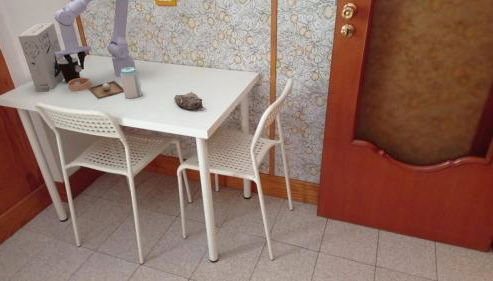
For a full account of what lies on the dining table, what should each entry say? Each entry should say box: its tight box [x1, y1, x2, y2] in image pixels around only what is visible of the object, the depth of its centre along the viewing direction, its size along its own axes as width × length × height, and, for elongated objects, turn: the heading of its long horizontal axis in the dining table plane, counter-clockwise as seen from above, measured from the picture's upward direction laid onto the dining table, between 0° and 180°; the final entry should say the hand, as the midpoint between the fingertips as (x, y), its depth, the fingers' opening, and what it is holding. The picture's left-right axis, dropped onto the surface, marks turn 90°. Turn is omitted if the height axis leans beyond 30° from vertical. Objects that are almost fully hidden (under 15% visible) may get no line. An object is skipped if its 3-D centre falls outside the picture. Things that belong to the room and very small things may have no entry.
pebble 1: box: [74, 64, 82, 73], centre depth 168 cm, size 3×3×3 cm
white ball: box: [102, 82, 110, 91], centre depth 166 cm, size 3×3×3 cm
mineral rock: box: [173, 91, 204, 110], centre depth 152 cm, size 15×8×4 cm, turn 33°
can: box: [120, 67, 143, 99], centre depth 159 cm, size 7×7×12 cm
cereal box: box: [17, 22, 65, 93], centre depth 173 cm, size 22×8×25 cm, turn 6°
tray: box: [87, 80, 124, 100], centre depth 167 cm, size 12×14×1 cm
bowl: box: [67, 77, 92, 92], centre depth 171 cm, size 9×9×3 cm
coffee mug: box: [58, 57, 81, 83], centre depth 179 cm, size 12×9×10 cm
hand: (78, 69), depth 169 cm, fingers closed on pebble 1, 3 cm apart
